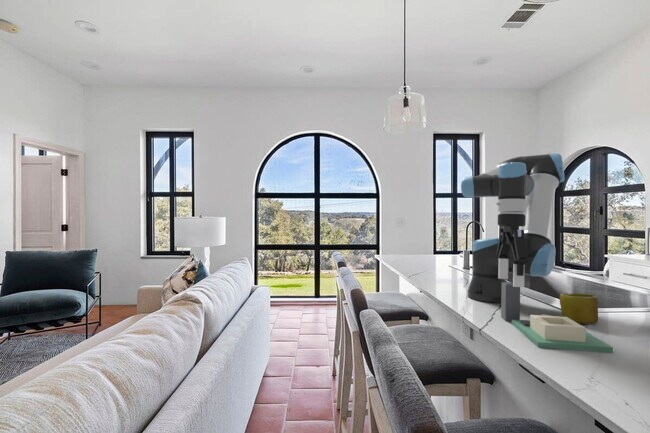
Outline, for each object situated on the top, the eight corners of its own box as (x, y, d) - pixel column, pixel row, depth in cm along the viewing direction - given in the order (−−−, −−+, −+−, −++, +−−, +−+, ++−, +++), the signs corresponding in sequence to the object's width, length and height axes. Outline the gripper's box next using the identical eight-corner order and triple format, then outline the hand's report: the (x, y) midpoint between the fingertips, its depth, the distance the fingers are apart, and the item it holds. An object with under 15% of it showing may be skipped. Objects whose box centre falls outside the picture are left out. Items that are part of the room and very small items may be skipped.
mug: (614, 322, 96) (598, 287, 99) (576, 330, 98) (561, 296, 101) (593, 318, 108) (579, 287, 110) (559, 325, 110) (546, 295, 112)
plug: (500, 316, 107) (501, 281, 107) (514, 317, 106) (514, 282, 106) (505, 321, 103) (505, 284, 103) (519, 321, 102) (520, 285, 102)
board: (511, 323, 100) (512, 307, 100) (572, 327, 97) (572, 311, 97) (537, 347, 82) (538, 327, 82) (613, 352, 79) (613, 332, 79)
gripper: (487, 213, 117) (486, 275, 117) (512, 212, 92) (511, 290, 92) (510, 214, 115) (509, 276, 115) (542, 212, 91) (541, 291, 91)
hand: (510, 282), depth 104 cm, fingers open, 13 cm apart
